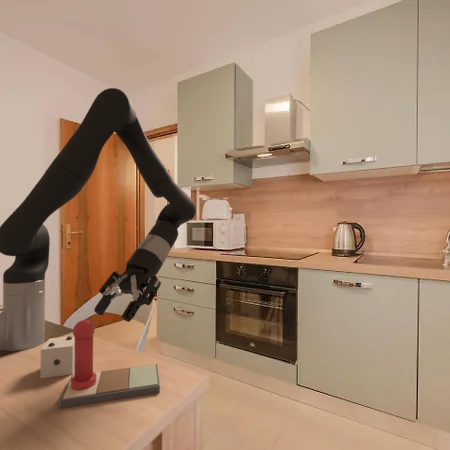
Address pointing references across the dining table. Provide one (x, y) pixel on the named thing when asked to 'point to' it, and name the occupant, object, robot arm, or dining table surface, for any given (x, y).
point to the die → (58, 357)
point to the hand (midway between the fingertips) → (111, 316)
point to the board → (114, 386)
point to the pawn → (83, 356)
